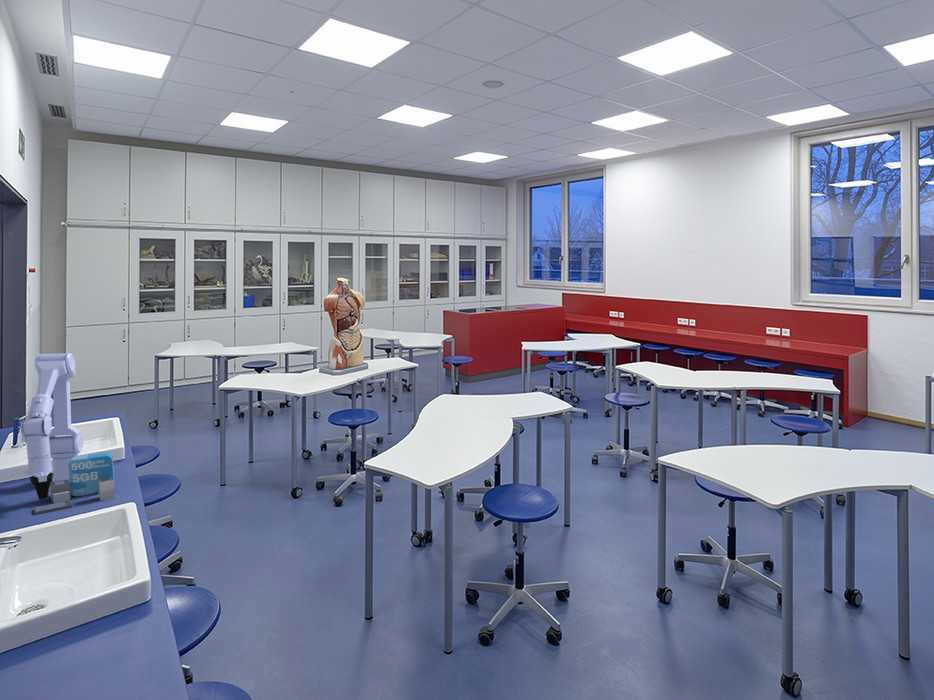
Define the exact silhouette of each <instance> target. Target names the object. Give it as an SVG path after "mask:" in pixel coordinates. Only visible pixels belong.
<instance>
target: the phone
mask: <svg viewBox="0 0 934 700" xmlns="http://www.w3.org/2000/svg"><path fill="white" fill-rule="evenodd" d="M72 508H73V506H72V503H71V500H70V501H65V502H60V503H55V504H54V503H51V504H45V505H41V506H36V507H33V509H34V516H37V515H43V514H46V513H52V512H56V511H61V510H67V509H72Z"/></svg>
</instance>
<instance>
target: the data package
mask: <svg viewBox="0 0 934 700" xmlns="http://www.w3.org/2000/svg"><path fill="white" fill-rule="evenodd" d="M114 470H115V469H114V458H113V454H112V453H110V452H100V453H93V454H91V453H90V454H83V455H78V456H75V457H72V458H71V459H70V460H69V463H68V471H69V482H70V489H71V496H73V497H81V496H83V497H84V496H88V495H93V494H95V493H96V494H98V485H97V479H100V478H106V477H111V476H112V478H113V479H114V485H115V484H116V483H115V471H114Z"/></svg>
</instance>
